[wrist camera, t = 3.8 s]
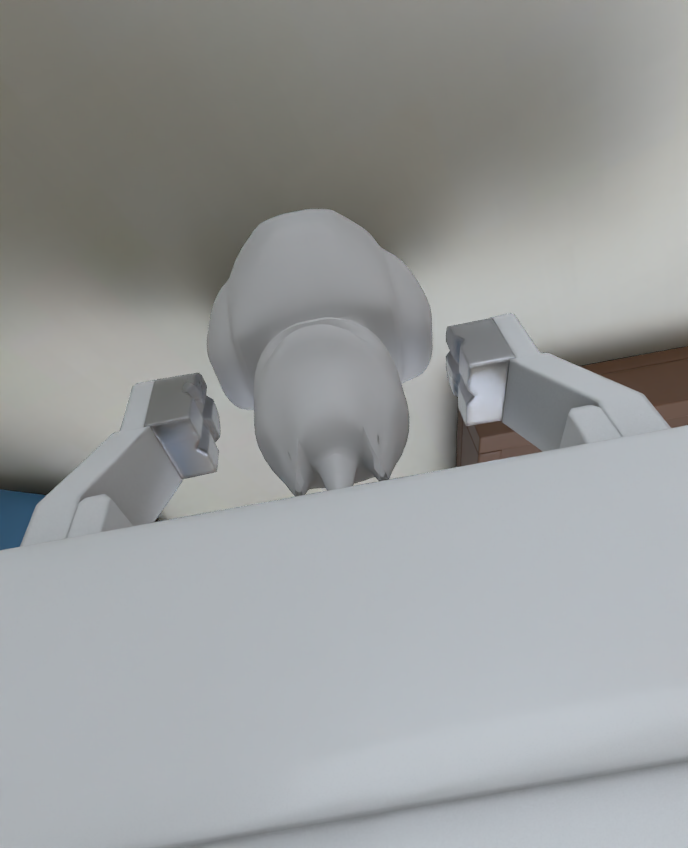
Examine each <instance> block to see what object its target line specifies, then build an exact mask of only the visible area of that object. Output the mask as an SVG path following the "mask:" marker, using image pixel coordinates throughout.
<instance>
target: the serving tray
mask: <svg viewBox="0 0 688 848" xmlns="http://www.w3.org/2000/svg"><path fill="white" fill-rule="evenodd" d="M580 367H582V368H584V369H587V370H589V371H591V372H594V373H596V374H598V375H600V376H603V377H605V378H607V379H610V380H612V381H614V382H617V383H619V384H621V385H624V386H626V387H628V388H631V389H633V390H635V391H638V392H640V393H642V394H644V395H645V396H646V398H647V399H648V400H649V401H650V403H651V404H652V405H653V406H654V407H655V409H656V410H657V411H658V412H659V414H660V415H661V416H662V417H663V419H664V420H665V421H666V422H667V423H668V425H669V426H670V427H671V428H674V427H680V426H685V425H688V346H687V347H681V348H676V349H670V350H665V351H660V352H654V353H649V354H643V355H638V356H633V357H627V358H622V359H616V360H611V361H605V362H600V363H595V364H589V365H584V366H580ZM538 452H543V451H541V450H540V449H539V448H537V447H536V446H534V445H533V444H532V443H530V442H529V441H528V440H526V439H525V438H523V437H522V436H521V435H519V434H518V433H516V432H515V431H514V430H512V429H511V428H510V427H508V426H507V425H505V424H504V423H503V422H502V421H496V422H490V423H483V424H477V425H471V426H466V425H465V422H464V420H463V417H462V415H461V413H460V410H459V408H458V430H457V458H456V467H461V466H466V465H472V464H477V463H483V462H488V461H494V460H499V459H505V458H511V457H516V456H522V455H527V454H533V453H538Z"/></svg>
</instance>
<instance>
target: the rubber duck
mask: <svg viewBox="0 0 688 848" xmlns="http://www.w3.org/2000/svg"><path fill="white" fill-rule="evenodd" d="M207 352H208V357H209V360H210V362H211V365H212V367H213V369H214V371H215V374H216V376H217V378H218V380H219V383H220V385H221V387H222V389H223V391H224V393H225V395H226V396H227V398H228V399H229V400H230V401H231V402H232V403H233V404H234V405H235V406H237V407H239V408H241V409H246V410H254V426H255V435H256V439H257V443H258V446H259V448H260V450H261V452H262V455H263V457H264V459H265V460H266V462H267V463H268V464H269V466H270V467H271V469H272V470H273V471H274V473H275V474H276V475H277V476H278V477H279V478H280V479H281V480H282V481H283V482H284V483H285V484H286V485H287V487H288V488H289V490H290V491H291V492H292V493H293V494H294V496H295V497H296V496H301V495H305V494H306V492H307V491H308V490H309V489H313V488H326V490H327V491H329V490H334V489H340V488H345V487H351V486H353V484H354V483H358V482H361V481H364V480H367V479H369V478H373V477H376V478H377V479H378V481H383V480H389V478H390V476H391V473H392V471H393V469H394V467H395V465H396V463H397V462H398V460H399V459H400V457H401V455H402V453H403V450H404V448H405V445H406V442H407V438H408V433H409V411H408V405H407V401H406V398H405V395H404V392H403V388H402V385H401V384H402V383H404V382H405V381H408V380H410V379H413V378H415V377H417V376H419V375H420V374H422V373H423V372H424V370H425V369H426V368H427V366H428V364H429V362H430V359H431V355H432V316H431V309H430V305H429V303H428V300H427V297H426V295H425V294H424V292H423V290H422V288H421V286H420V285H419V283H418V281H417V280H416V278H415V277H414V275H413V274H412V272H411V271H410V270H409V268H408V267H407V266H406V265H405V264H404V263H403V262H402V261H401V260H400V259H399V258H398V257H396V256H395V255H394V254H392V253H390V252H388V251H386V250H384V249H382V248H381V247H380V246H379V244H378V243H377V242H376V241H375V239H374V238H373V237H372V236H371V234H370V233H369V232H367V231H366V230H365V229H364V228H362V227H361V226H359V225H358V224H356V223H354V222H353V221H351V220H350V219H348V218H346V217H344V216H343V215H341V214H339V213H337V212H335V211H333V210H330V209H306V210H300V211H295V212H290V213H285V214H281V215H278V216H275V217H273V218H271V219H268V220H266V221H264V222H262V223H260V224H259V225H258V226H257V227H256V228H255V230H254V231H253V232H252V234H251V235H250V237H249V238H248V240H247V241H246V243H245V244H244V245H243V247H242V249H241V251H240V252H239V254H238V256H237V258H236V260H235V263H234V266H233V268H232V271H231V274H230V277H229V279H228V281H227V282H226V283H225V284H224V285H223V287H222V288H221V289H220V291H219V293H218V295H217V297H216V299H215V302H214V304H213V307H212V311H211V315H210V321H209V327H208V335H207Z"/></svg>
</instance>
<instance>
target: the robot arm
mask: <svg viewBox="0 0 688 848" xmlns="http://www.w3.org/2000/svg"><path fill="white" fill-rule="evenodd" d="M446 342H447V345H448V347H449V349H450V352H449V353H448V354H447V356H446V371H447V378H448V382H449V385H450V388H451V391H452V393H453V394H454V395H455V396H457V397H458V408H459V410H460V413H461V415H462V417H463V420H464V422H465V425H466V426H471V425H477V424H483V423H490V422H496V421H502V422H503V423H504V424H505V425H507V426H508V427H510V428H511V429H512V430H514V431H515V432H516V433H518V434H519V435H521V436H522V437H523V438H525V439H526V440H528V441H529V442H530V443H532V444H533V445H534V446H536V447H537V448H539V449H540V450H541V451H543V452H538V453H533V454H527V455H522V456H516V457H511V458H505V459H499V460H494V461H488V462H483V463H477V464H472V465H466V466H461V467H455V468H450V469H444V470H439V471H433V472H427V473H422V474H416V475H411V476H405V477H400V478H394V479H389V480H383V481H378V482H372V483H367V484H361V485H356V486H351V487H345V488H340V489H334V490H329V491H323V492H318V493H312V494H307V495H301V496H296V497H291V498H285V499H280V500H274V501H269V502H263V503H258V504H252V505H247V506H241V507H236V508H230V509H225V510H219V511H214V512H208V513H203V514H197V515H192V516H186V517H181V518H175V519H170V520H164V521H159V522H155V520H156V519H157V517H158V516H159V514H160V513H161V512H162V510H163V509H164V507H165V506H166V504H167V503H168V501H169V500H170V498H171V497H172V496H173V494H174V493H175V491H176V490H177V488H178V487H179V485H180V484H181V483H182V479H185V478H190V477H195V476H200V475H204V474H209V473H214V472H217V467H218V455H219V450H218V448H217V446H216V444H215V442H216V441H217V440H218V439H219V437H220V420H219V414H218V411H217V408H216V405H215V403H214V401H213V399H211V398H209V397H208V396H206V389H207V385H206V383H205V381H204V379H203V377H202V375H201V374H199V373H193V374H187V375H181V376H175V377H169V378H163V379H157V380H152V381H146V382H141V383H136V384H135V385H134V386H133V387H132V390H131V393H130V397H129V400H128V404H127V407H126V411H125V414H124V418H123V421H122V425H121V428H120V432H115V433H113V434H112V435H111V436H109V437H108V438H107V439H106V440H105V441H104V442H103V443H102V444H101V445H100V446H99V447H98V448H97V449H96V450H94V451H93V452H92V453H91V454H90V455H89V456H88V457H87V458H86V459H85V460H84V461H83V462H82V463H81V464H79V465H78V466H77V467H76V468H75V469H74V470H73V471H72V472H71V473H70V474H69V475H68V476H67V477H66V478H64V479H63V480H62V481H61V482H60V483H59V484H58V485H57V486H56V487H55V488H54V489H53V490H52V491H51V492H49V493H48V494H47V495H46V496H45V497H44V498H43V499H42V500H41V501H40V502H39V503H38V504H37V505H36V507H35V509H34V512H33V514H32V517H31V520H30V522H29V525H28V527H27V530H26V532H25V535H24V537H23V540H22V542H21V545H20V547H16V548H10V549H5V550H0V848H688V425H685V426H680V427H674V428H671V427H670V426H669V425H668V423H667V422H666V421H665V420H664V419H663V417H662V416H661V415H660V414H659V412H658V411H657V410H656V409H655V407H654V406H653V405H652V404H651V403H650V401H649V400H648V399H647V398H646V396H645V395H644V394H642V393H640V392H638V391H635V390H633V389H631V388H628V387H626V386H624V385H621V384H619V383H617V382H614V381H612V380H610V379H607V378H605V377H603V376H600V375H598V374H596V373H594V372H591V371H589V370H587V369H584V368H582V367H580V366H577V365H575V364H573V363H570V362H568V361H566V360H563V359H561V358H559V357H556V356H554V355H552V354H549V353H540V352H539V350H538V349H537V347H536V346H535V344H534V343H533V341H532V340H531V338H530V337H529V335H528V334H527V332H526V331H525V329H524V328H523V326H522V325H521V323H520V322H519V320H518V319H517V317H516V316H515V315H514V314H512V313H509V314H504V315H500V316H495V317H490V318H489V319H484V320H479V321H473V322H468V323H463V324H458V325H453V326H448V327H447V331H446Z"/></svg>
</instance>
